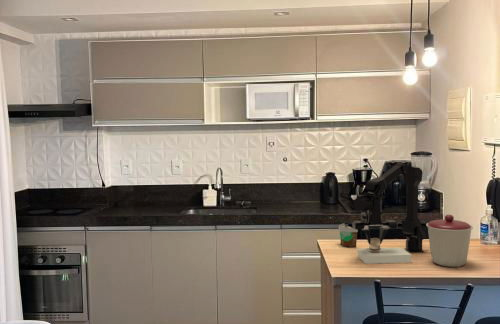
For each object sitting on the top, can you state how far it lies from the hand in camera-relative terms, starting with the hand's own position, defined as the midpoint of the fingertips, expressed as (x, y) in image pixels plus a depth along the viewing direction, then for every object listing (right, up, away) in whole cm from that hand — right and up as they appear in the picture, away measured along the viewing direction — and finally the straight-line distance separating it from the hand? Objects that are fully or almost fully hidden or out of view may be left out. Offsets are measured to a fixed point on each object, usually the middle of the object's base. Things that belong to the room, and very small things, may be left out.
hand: (374, 243), depth 199 cm
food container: (-8, -6, +25) cm, 27 cm away
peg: (0, -5, 0) cm, 5 cm away
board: (+4, -7, +1) cm, 8 cm away
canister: (+29, -7, -8) cm, 31 cm away
